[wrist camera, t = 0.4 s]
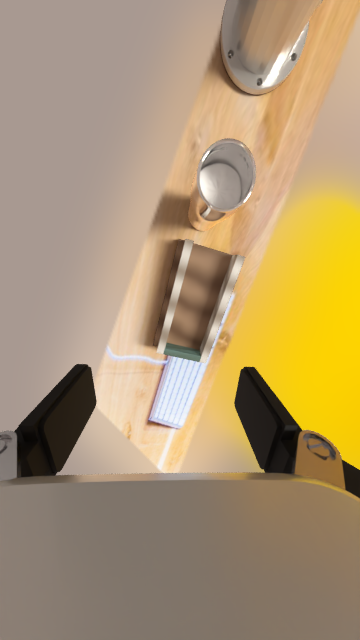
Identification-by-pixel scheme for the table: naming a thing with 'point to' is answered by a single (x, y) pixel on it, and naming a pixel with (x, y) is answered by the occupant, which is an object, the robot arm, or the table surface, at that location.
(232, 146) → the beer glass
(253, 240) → the table surface
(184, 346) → the track board
